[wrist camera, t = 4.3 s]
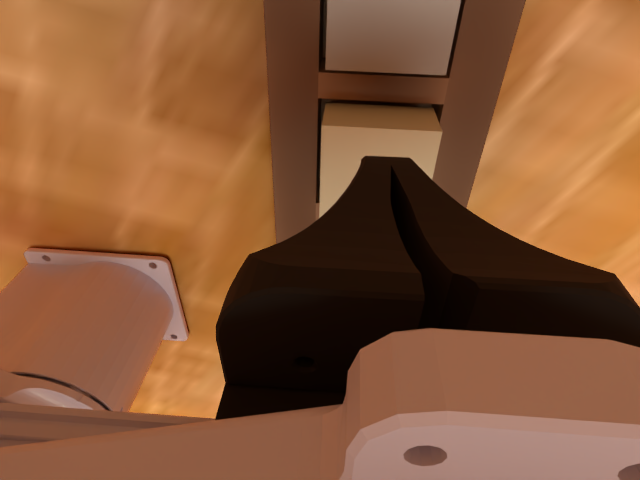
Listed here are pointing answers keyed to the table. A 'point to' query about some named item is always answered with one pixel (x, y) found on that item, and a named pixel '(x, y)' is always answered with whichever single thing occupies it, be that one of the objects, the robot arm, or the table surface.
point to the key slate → (390, 35)
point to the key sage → (372, 142)
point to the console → (378, 98)
